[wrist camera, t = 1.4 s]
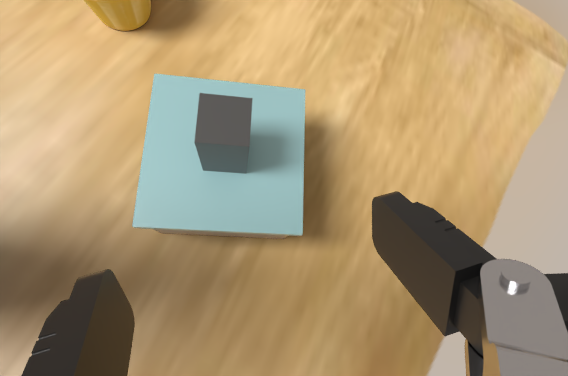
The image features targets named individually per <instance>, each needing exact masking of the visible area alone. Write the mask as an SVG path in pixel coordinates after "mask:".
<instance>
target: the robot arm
mask: <svg viewBox="0 0 568 376" xmlns="http://www.w3.org/2000/svg"><path fill="white" fill-rule="evenodd" d="M372 238H373V243H374V246H375V248H376V250H377V252H378V254H379V255H380V256H381V258H382V259H383V260H384V261H385V263H386V264H387V265H388V266H389V268H390V269H391V270H392V271H393V273H394V274H395V275H396V276H397V278H398V279H399V280H400V281H401V283H402V284H403V285H404V286H405V288H406V289H407V290H408V291H409V292H410V294H411V295H412V296H413V297H414V299H415V300H416V301H417V302H418V304H419V305H420V306H421V307H422V309H423V310H424V311H425V312H426V314H427V315H428V316H429V317H430V319H431V320H432V321H433V322H434V324H435V325H436V326H437V327H438V329H439V330H440V331H441V332H442V334H443V335H444V336H447V335H450V334H453V333H456V332H459V331H460V332H461V333H462V334H463V336H464V337H465V338H466V340H465V360H466V376H568V273H566V274H565V273H564V274H543V273H541V272H540V271H539V270H537V269H536V268H534V267H532V266H530V265H528V264H525V263H523V262H519V261H516V260H510V259H496V258H495V257H493V256H492V255H491V254H490V253H488V252H487V251H486V250H485V249H483V248H482V247H481V246H480V245H478V244H477V243H476V242H475V241H473V240H472V239H471V238H470V237H468V236H467V235H466V234H464V233H463V232H462V231H461V230H459V229H456V226H454V225H453V224H452V223H451V222H449V221H448V220H447V221H446V219H445V218H444V217H443V216H442V215H441V214H439V213H438V212H437V211H436V210H434V209H433V208H430V207H428V206H425V205H423V204H420V203H418V202H415V203H412V202H410V201H409V200H408V199H407V198H406V197H405V196H403V195H402V194H401V193H400V192H392V193H389V194H385V195H381V196H378V197H375V198H374V199H373V201H372ZM133 333H134V315H133V311H132V308H131V305H130V303H129V302H128V300H127V298H126V296H125V294H124V292H123V290H122V288H121V287H120V285H119V283H118V281H117V279H116V277H115V275H114V274H113V272H112V271H111V270H109V269H107V270H104V271H100V272H96V273H93V274H89V275H85V276H82V277H79V278H78V279H77V281H76V283H75V286H74V288H73V291H72V293H71V296H70V299H68V300H64V301H61V302H60V303H59V305H58V306H57V307H56V308H55V309H54V311H53V312H52V313H51V314H50V315H49V316H48V318H47V319H46V321H45V323H44V325H43V328H42V330H41V332H40V335H39V337H38V338H39V341H36V344H35V346H34V348H33V351H32V356H31V357H29V360H28V362H27V364H26V367H25V369H24V371H23V374H22V376H127V374H128V367H129V360H130V354H131V347H132V340H133Z"/></svg>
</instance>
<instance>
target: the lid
mask: <svg viewBox="0 0 568 376" xmlns="http://www.w3.org/2000/svg"><path fill="white" fill-rule="evenodd" d="M304 129H305V89H295V88H286V87H276V86H267V85H257V84H248V83H238V82H229V81H219V80H210V79H201V78H191V77H182V76H172V75H163V74H154V80H153V87H152V94H151V101H150V108H149V115H148V122H147V128H146V135H145V142H144V149H143V156H142V163H141V170H140V177H139V183H138V190H137V197H136V204H135V211H134V218H133V225H132V227H134V228H142V229H163V230H184V231H205V232H226V233H246V234H267V235H288V236H302V235H303V187H304Z"/></svg>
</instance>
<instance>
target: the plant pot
mask: <svg viewBox="0 0 568 376" xmlns="http://www.w3.org/2000/svg"><path fill="white" fill-rule="evenodd" d="M84 1H85V2H86V4H87V5H88V6H89V7H90V8H91V9H92V10H93V12H94V13H95V14H96V15H97V16H98V17H99V19H100V20H101V21H102V22H103V23H104V24H106V25H107V26H109V27H111V28H113V29H116V30H121V31H128V30H134V29H136V28H139V27H141V26H142V25H144V24H145V23H146V22H147V20H148V19H149V16H150V13H151V0H84Z"/></svg>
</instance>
